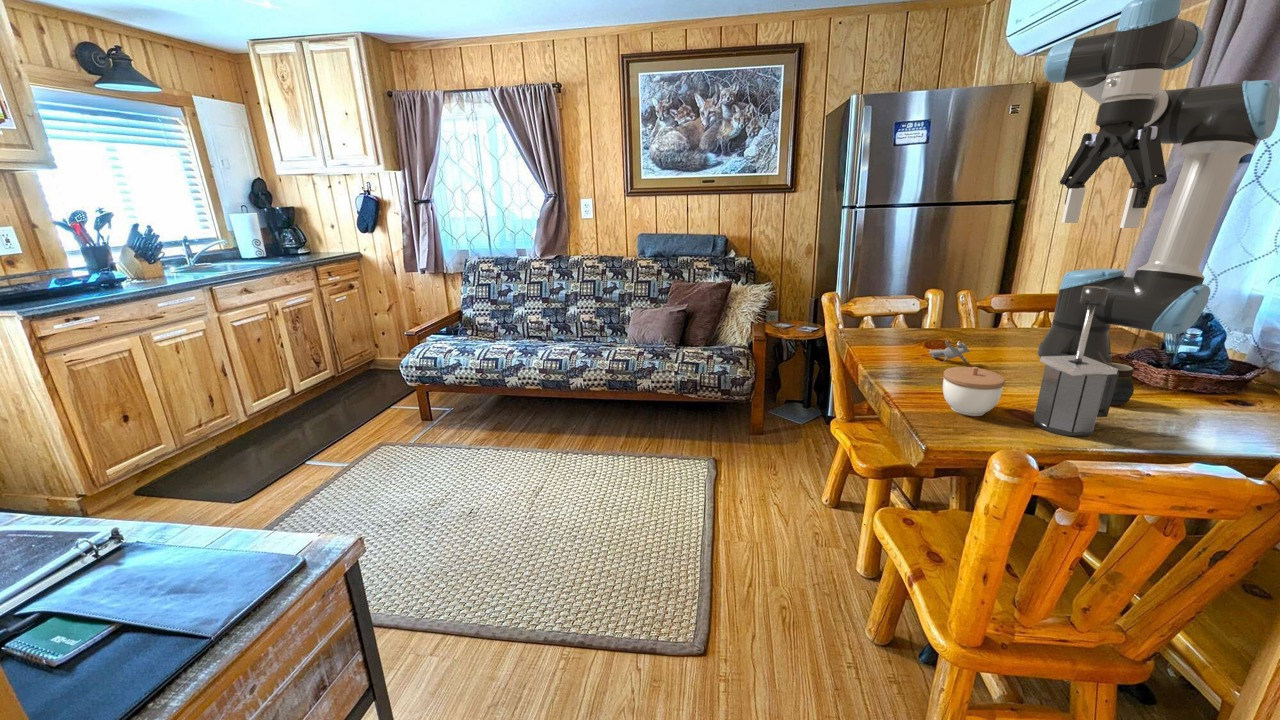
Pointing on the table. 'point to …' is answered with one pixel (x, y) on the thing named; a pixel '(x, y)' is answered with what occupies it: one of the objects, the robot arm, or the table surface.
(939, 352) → the grey animal figurine
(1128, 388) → the mate gourd
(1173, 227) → the robot arm
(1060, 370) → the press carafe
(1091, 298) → the plunger
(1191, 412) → the table surface
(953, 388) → the lidded jar
